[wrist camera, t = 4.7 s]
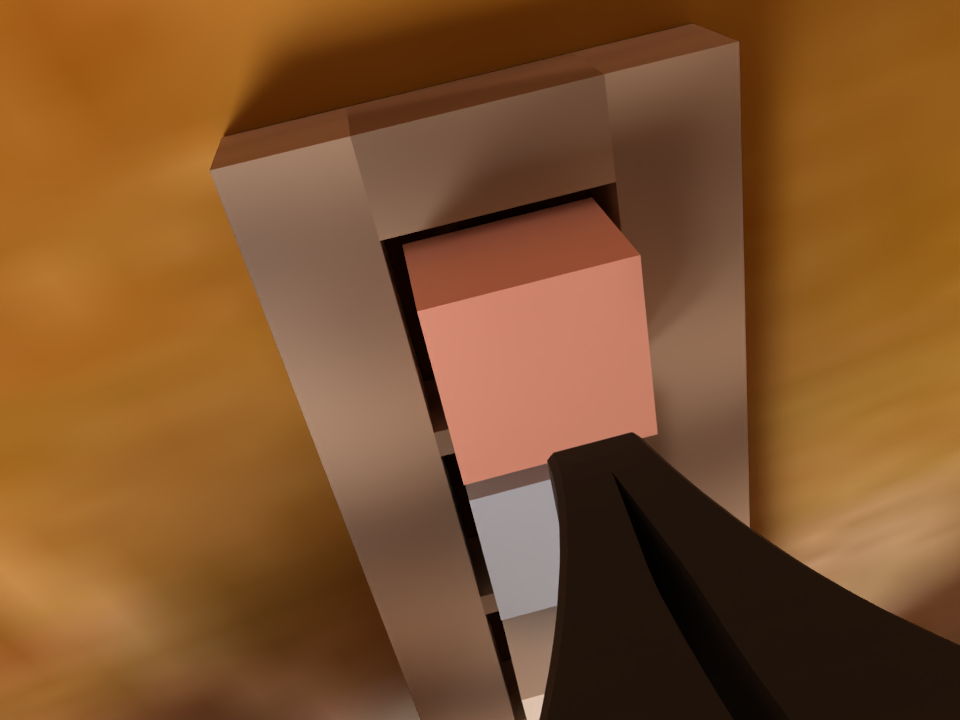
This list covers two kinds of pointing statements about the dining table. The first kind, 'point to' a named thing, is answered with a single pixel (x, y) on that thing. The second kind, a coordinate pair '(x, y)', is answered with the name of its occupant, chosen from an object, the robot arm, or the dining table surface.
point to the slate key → (519, 538)
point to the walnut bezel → (467, 194)
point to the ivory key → (531, 655)
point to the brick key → (534, 335)
